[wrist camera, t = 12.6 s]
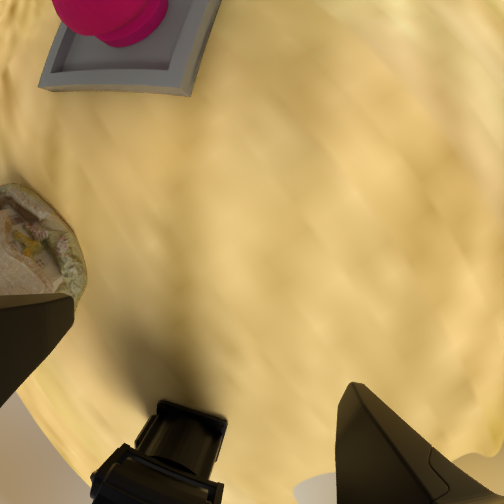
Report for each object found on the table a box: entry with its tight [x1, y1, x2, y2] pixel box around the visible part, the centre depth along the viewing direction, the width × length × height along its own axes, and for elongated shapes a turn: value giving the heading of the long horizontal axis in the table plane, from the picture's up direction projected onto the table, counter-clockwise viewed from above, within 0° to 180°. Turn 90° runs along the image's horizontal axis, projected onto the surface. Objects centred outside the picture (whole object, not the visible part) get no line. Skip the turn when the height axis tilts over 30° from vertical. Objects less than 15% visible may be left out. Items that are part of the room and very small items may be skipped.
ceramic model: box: [0, 183, 87, 327], centre depth 19 cm, size 14×11×10 cm
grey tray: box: [38, 0, 222, 97], centre depth 17 cm, size 14×14×2 cm
